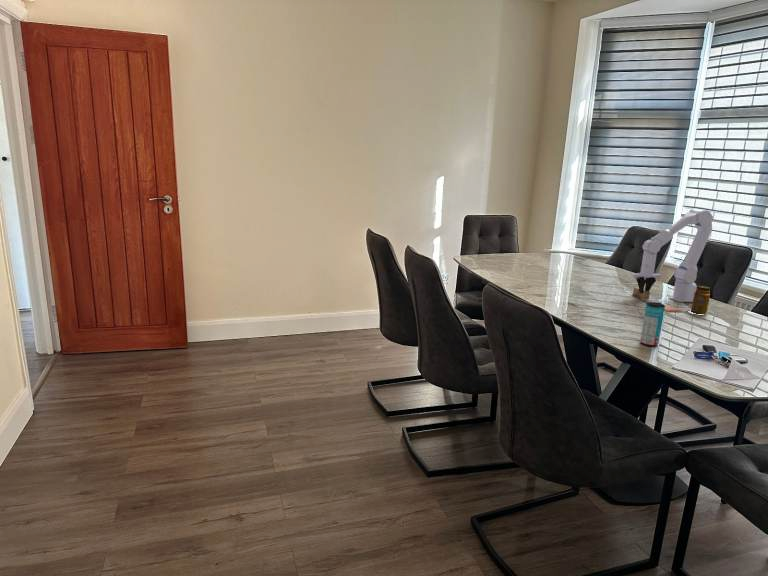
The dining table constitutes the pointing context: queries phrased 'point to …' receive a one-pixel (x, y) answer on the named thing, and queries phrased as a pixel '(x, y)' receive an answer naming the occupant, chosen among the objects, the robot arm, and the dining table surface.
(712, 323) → the dining table surface
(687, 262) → the robot arm
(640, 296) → the tall wooden plank
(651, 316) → the beverage can
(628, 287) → the dining table surface
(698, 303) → the condiment
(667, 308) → the tile
